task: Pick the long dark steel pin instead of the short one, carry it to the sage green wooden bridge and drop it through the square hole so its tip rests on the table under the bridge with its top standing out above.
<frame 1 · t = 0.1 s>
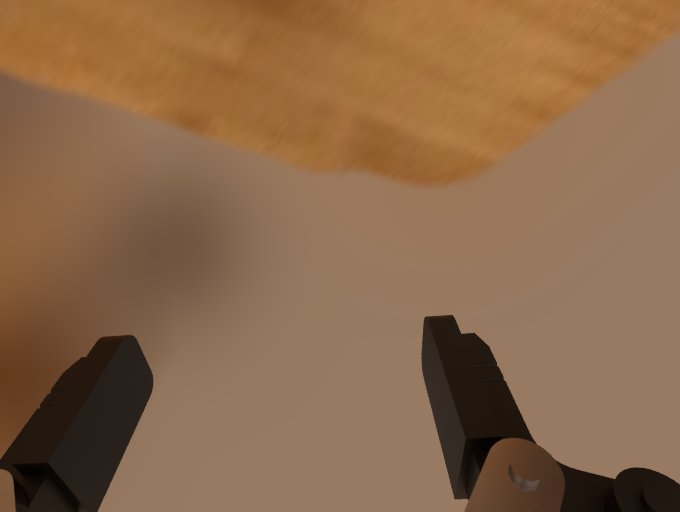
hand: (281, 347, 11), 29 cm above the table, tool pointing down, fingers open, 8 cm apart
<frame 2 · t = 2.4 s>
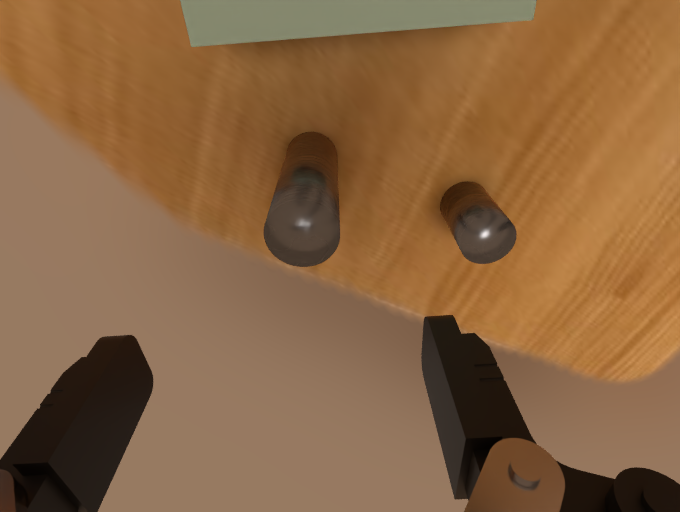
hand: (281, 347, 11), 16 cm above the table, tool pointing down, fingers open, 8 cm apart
long pin: (311, 157, 25), on the table
short pin: (463, 203, 27), on the table
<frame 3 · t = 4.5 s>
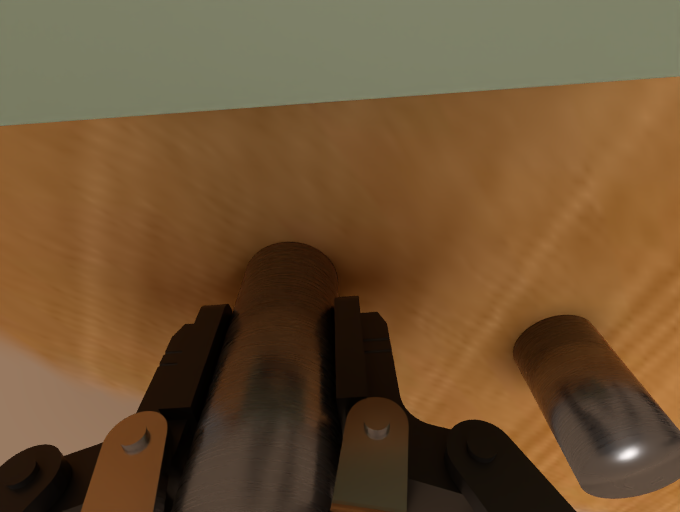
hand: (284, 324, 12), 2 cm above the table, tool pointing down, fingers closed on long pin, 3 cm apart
long pin: (291, 281, 14), on the table, touching gripper
short pin: (553, 345, 16), on the table
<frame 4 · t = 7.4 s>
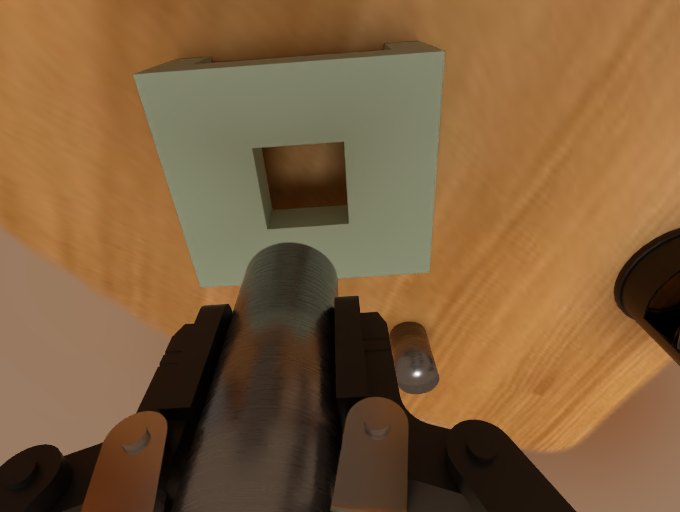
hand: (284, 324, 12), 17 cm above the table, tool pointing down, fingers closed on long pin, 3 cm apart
french press: (679, 271, 32), on the table
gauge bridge: (308, 152, 26), on the table
long pin: (291, 282, 14), point 14 cm above the table, touching gripper
short pin: (407, 335, 35), on the table
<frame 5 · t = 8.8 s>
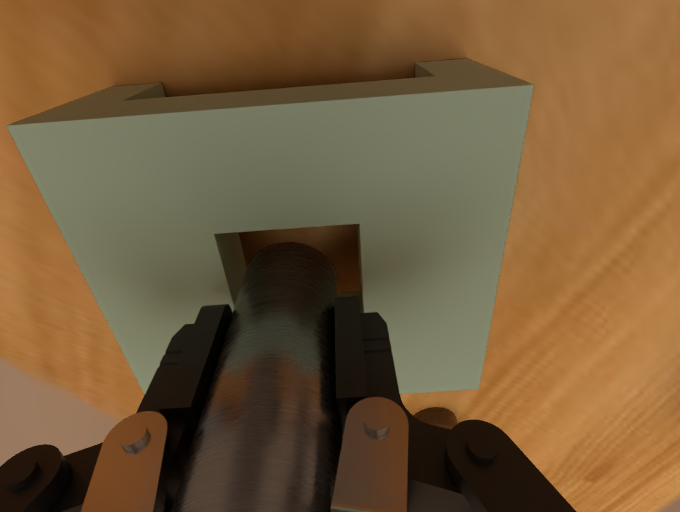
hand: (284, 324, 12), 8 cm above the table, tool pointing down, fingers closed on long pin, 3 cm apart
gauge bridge: (305, 210, 19), on the table
long pin: (291, 281, 14), point 6 cm above the table, touching gripper
short pin: (432, 421, 28), on the table
when the fingers open (7 cm above the table, at t = 10.0 s): long pin drops 5 cm, on the table.
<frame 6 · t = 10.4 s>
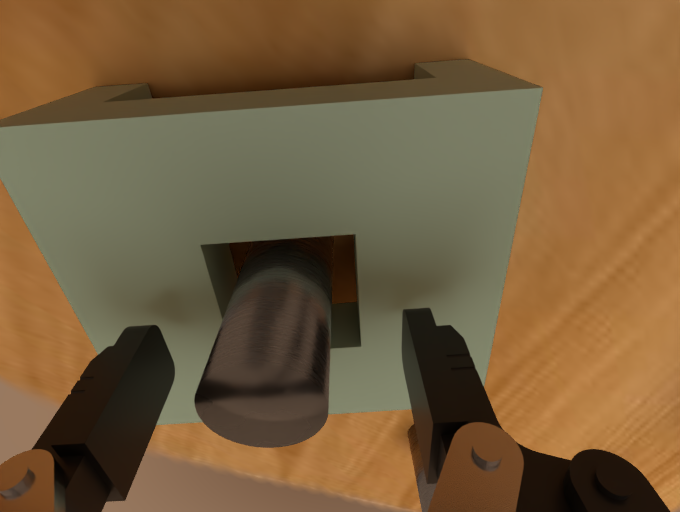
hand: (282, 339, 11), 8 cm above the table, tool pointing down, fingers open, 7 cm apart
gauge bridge: (299, 217, 18), on the table
long pin: (299, 217, 18), on the table
short pin: (431, 432, 27), on the table
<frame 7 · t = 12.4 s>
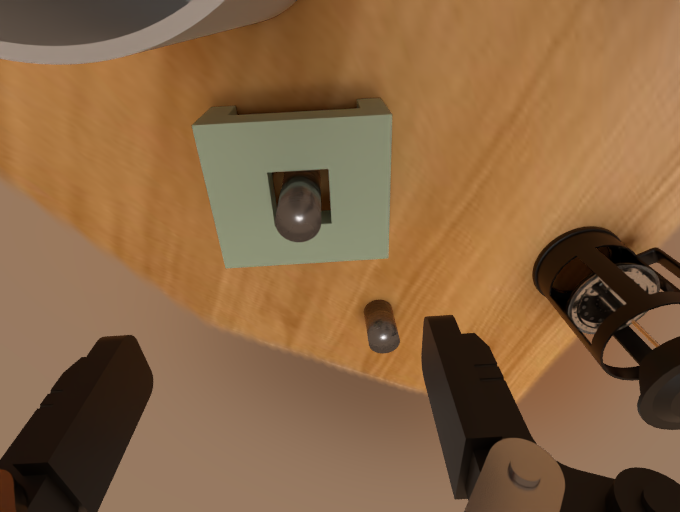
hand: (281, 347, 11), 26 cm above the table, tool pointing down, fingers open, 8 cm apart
french press: (579, 261, 43), on the table
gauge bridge: (303, 171, 36), on the table
long pin: (302, 171, 36), on the table
short pin: (378, 310, 45), on the table
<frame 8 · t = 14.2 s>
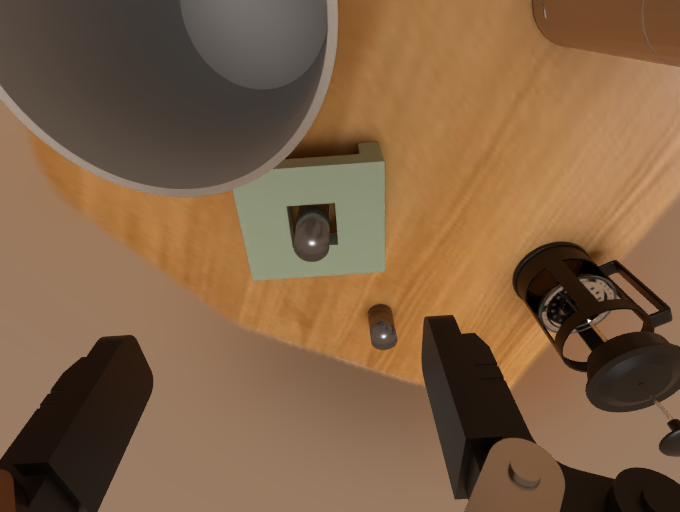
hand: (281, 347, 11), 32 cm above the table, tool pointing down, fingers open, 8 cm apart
french press: (553, 271, 50), on the table
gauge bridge: (314, 200, 44), on the table
long pin: (314, 200, 44), on the table
short pin: (379, 313, 53), on the table
cylinder vase: (259, 10, 34), on the table
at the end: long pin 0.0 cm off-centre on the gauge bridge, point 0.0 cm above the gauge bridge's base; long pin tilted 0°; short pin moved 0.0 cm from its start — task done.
